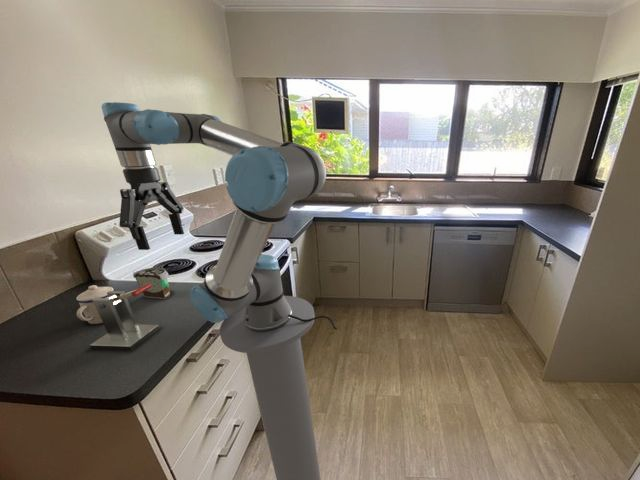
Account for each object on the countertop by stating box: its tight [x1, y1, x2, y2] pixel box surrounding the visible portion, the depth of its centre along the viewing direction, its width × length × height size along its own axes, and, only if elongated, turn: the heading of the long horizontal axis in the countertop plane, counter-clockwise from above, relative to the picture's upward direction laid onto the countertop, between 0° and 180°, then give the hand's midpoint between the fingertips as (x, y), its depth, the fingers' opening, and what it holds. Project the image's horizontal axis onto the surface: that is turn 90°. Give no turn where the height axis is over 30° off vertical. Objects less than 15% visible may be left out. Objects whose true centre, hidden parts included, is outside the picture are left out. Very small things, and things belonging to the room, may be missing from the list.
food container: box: [132, 267, 171, 300], centre depth 108 cm, size 12×6×10 cm, turn 80°
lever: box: [107, 283, 151, 305], centre depth 79 cm, size 13×5×2 cm, turn 87°
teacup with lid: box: [75, 284, 116, 325], centre depth 92 cm, size 12×9×12 cm
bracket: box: [89, 290, 160, 351], centre depth 83 cm, size 12×10×15 cm
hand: (163, 241), depth 86 cm, fingers open, 13 cm apart
